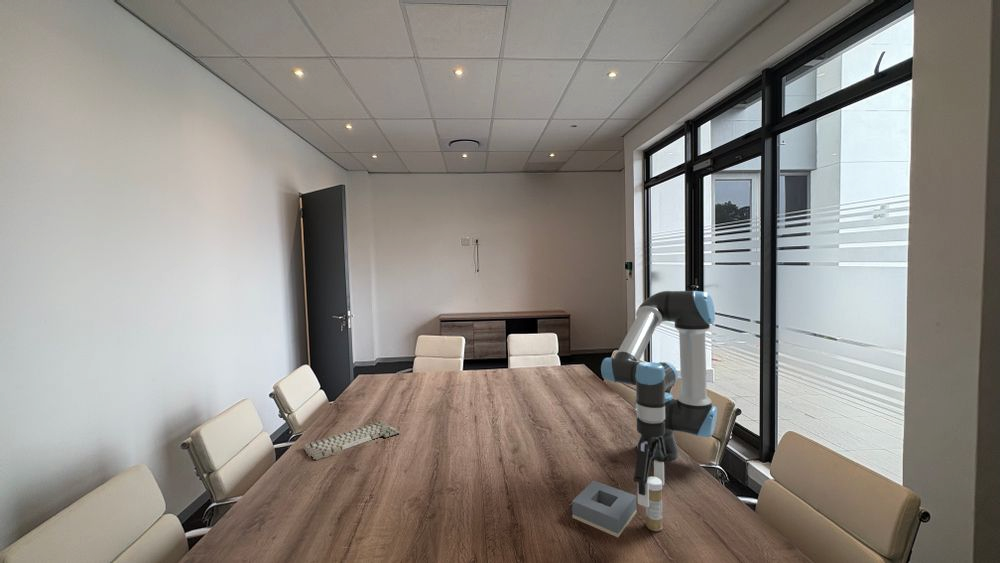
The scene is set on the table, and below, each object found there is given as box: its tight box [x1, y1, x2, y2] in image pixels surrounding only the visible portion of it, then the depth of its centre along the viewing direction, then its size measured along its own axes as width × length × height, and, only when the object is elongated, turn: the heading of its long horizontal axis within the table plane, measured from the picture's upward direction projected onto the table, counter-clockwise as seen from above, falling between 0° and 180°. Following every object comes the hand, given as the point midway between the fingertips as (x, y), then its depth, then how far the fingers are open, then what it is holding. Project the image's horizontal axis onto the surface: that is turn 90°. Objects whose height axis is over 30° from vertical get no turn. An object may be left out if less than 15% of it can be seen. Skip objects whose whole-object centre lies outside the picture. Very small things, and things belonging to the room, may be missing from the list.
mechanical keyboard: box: [303, 420, 400, 460], centre depth 169 cm, size 38×19×3 cm, turn 135°
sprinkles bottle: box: [645, 476, 664, 532], centre depth 107 cm, size 5×5×14 cm
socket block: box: [571, 480, 637, 538], centre depth 113 cm, size 14×14×5 cm
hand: (651, 493), depth 107 cm, fingers open, 13 cm apart
